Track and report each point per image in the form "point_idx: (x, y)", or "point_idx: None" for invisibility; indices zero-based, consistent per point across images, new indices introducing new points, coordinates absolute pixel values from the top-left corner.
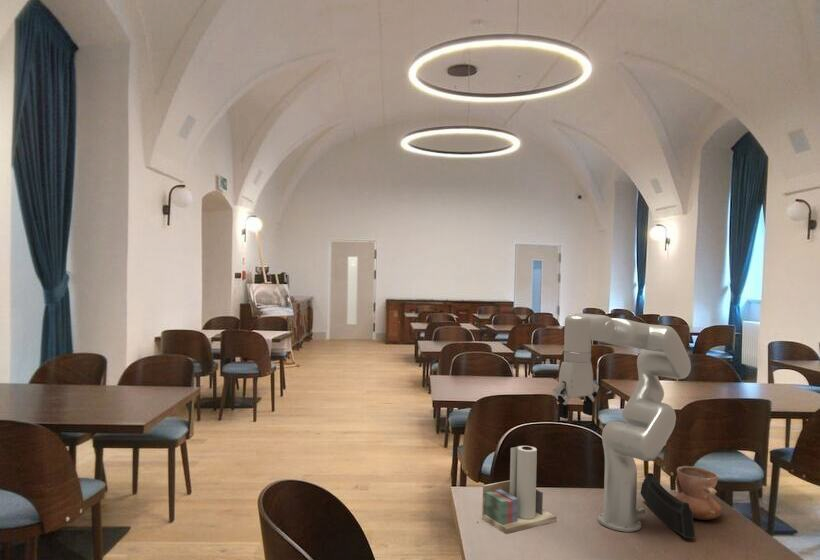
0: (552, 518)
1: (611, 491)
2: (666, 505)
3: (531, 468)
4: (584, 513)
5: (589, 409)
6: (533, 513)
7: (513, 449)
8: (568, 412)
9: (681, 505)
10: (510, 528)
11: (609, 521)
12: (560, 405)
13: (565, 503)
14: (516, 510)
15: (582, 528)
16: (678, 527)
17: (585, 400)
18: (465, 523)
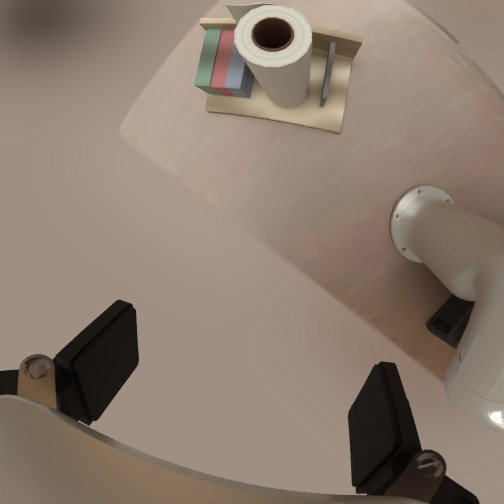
0: (328, 130)
1: (424, 240)
2: None
3: (266, 81)
4: (417, 153)
5: (356, 436)
6: (288, 107)
7: (238, 8)
8: (120, 388)
9: (457, 340)
10: (215, 111)
11: (402, 220)
12: (56, 368)
13: (427, 101)
14: (241, 93)
15: (352, 186)
16: (443, 316)
17: (400, 456)
18: (181, 46)
